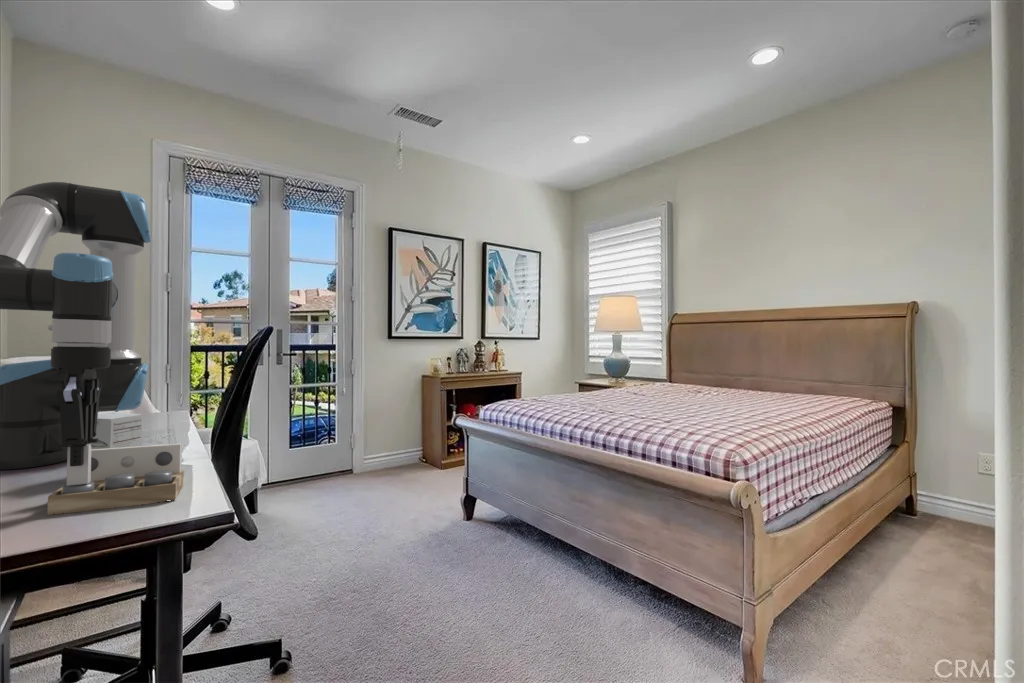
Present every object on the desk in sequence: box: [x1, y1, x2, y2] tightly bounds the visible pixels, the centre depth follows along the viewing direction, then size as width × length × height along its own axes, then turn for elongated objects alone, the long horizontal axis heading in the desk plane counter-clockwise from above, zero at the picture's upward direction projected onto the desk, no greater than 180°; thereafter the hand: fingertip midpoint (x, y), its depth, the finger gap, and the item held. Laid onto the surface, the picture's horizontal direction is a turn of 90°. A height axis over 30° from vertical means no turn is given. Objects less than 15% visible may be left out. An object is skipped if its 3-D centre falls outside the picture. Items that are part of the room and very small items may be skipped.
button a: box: [62, 481, 95, 494], centre depth 80 cm, size 4×4×2 cm
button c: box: [144, 470, 172, 486], centre depth 85 cm, size 4×4×2 cm
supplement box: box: [89, 412, 144, 449], centre depth 98 cm, size 7×7×13 cm
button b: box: [105, 473, 135, 490], centre depth 82 cm, size 4×4×2 cm
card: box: [91, 443, 182, 481], centre depth 87 cm, size 1×16×6 cm, turn 118°
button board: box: [47, 469, 185, 516], centre depth 84 cm, size 10×17×3 cm, turn 118°
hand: (78, 483), depth 80 cm, fingers closed
